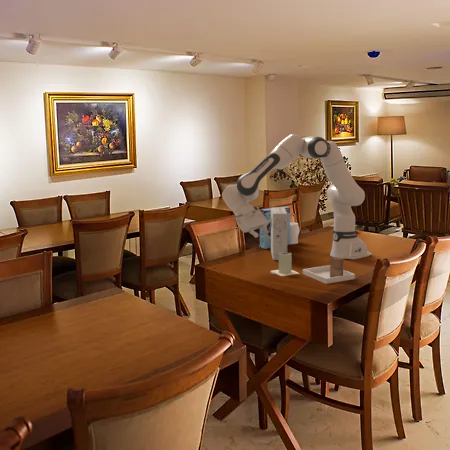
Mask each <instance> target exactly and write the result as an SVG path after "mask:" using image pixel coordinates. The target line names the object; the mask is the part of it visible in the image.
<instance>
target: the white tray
mask: <svg viewBox="0 0 450 450" xmlns="http://www.w3.org/2000/svg"><path fill="white" fill-rule="evenodd" d="M302 275H304V276H306V277H309V278H311V279H314V280H315V281H318V282H320V283H323V284H325V285H327V284H328V285H329V284H334V283H339V282H340V283H341V282H346V281H351V280H356V274H355V273H353V272H351V271H348V270H345V269H343V276H337V277H331V278H330V264H328V265H321V266H315V267H314V266H313V267H310V268H303V269H302Z"/></svg>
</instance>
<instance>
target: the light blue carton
mask: <svg viewBox="0 0 450 450" xmlns="http://www.w3.org/2000/svg"><path fill="white" fill-rule="evenodd" d="M283 207H284V208H285V210H286V212H287V214H288V223H287V246H290V245H291V244H290V222H291V206H283ZM271 208H272V207H269V208H259V211H260V212H261V213H262V214H263V215H264V217H265V218H266V219H267V221H268V223H267V224H266V228H267V230H268V231H269V233H268V234H264V231H263V229H261V228H259V248H260V247H261V248H260V249H262V248H263V250H268V249H271ZM275 208H277V206H276V207H275Z"/></svg>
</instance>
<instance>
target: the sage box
mask: <svg viewBox="0 0 450 450" xmlns="http://www.w3.org/2000/svg"><path fill="white" fill-rule="evenodd" d="M292 258H293V256H292V252H288V251H287V252H282V253H280V254H279V260H278V270H279V273H286V274H288V273H290V272H291V270H292V266H293V265H292V261H293V259H292Z"/></svg>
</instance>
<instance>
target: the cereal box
mask: <svg viewBox="0 0 450 450" xmlns="http://www.w3.org/2000/svg"><path fill="white" fill-rule="evenodd" d="M276 207H277V206H276ZM276 207H270V208H271V248H270V254H271V257H272V261H279V254H280V253H282V252H287V253H288V245H287V223H288V214H287V212H286V210H285V208H284V206H278V207H277V208H276Z"/></svg>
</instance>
